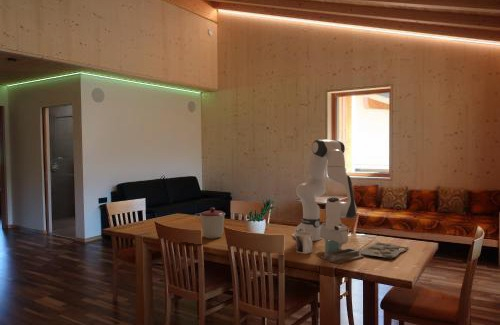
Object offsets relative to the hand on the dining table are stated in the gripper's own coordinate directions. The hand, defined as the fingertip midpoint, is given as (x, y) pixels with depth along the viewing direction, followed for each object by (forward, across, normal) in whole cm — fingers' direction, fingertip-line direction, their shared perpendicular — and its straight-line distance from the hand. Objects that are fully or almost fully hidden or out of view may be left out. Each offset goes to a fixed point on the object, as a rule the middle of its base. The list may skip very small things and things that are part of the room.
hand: (333, 248), depth 235 cm
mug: (+3, -11, -13) cm, 17 cm away
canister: (+3, -77, -41) cm, 87 cm away
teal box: (+3, 0, 0) cm, 3 cm away
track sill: (+3, +11, -4) cm, 12 cm away
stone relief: (+3, +17, +24) cm, 30 cm away
